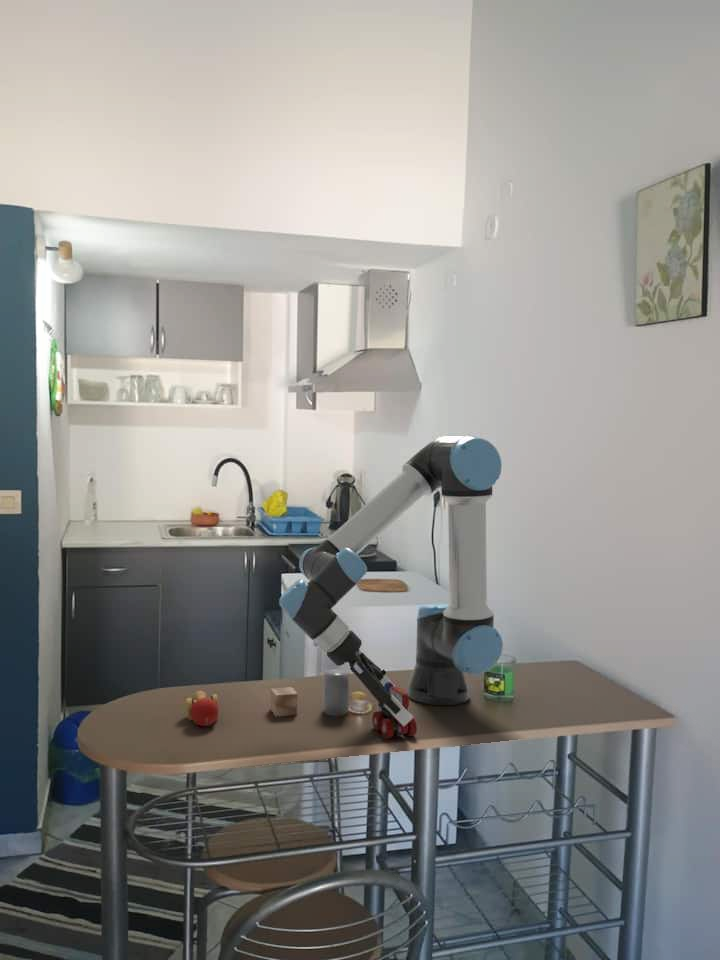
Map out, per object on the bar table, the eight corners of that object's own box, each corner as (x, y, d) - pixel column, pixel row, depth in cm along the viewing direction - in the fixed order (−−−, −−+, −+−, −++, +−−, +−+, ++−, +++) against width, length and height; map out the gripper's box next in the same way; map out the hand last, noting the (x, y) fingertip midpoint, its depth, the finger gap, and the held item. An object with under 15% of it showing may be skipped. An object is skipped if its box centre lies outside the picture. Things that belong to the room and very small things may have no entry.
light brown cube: (291, 708, 195) (291, 687, 195) (296, 715, 191) (297, 693, 190) (270, 709, 194) (270, 688, 194) (275, 717, 189) (276, 695, 189)
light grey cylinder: (347, 707, 197) (349, 669, 197) (349, 715, 191) (350, 677, 191) (322, 706, 197) (323, 669, 196) (322, 715, 191) (324, 676, 190)
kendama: (179, 710, 195) (184, 726, 178) (184, 682, 196) (190, 696, 179) (212, 714, 197) (220, 730, 180) (217, 687, 198) (226, 701, 180)
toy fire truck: (396, 721, 189) (398, 675, 189) (419, 740, 178) (421, 692, 177) (367, 724, 187) (369, 678, 186) (389, 744, 175) (391, 695, 175)
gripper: (323, 638, 192) (385, 703, 194) (326, 669, 168) (398, 743, 170) (347, 616, 193) (409, 681, 194) (354, 644, 168) (425, 718, 170)
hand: (404, 710), depth 182 cm, fingers open, 13 cm apart
